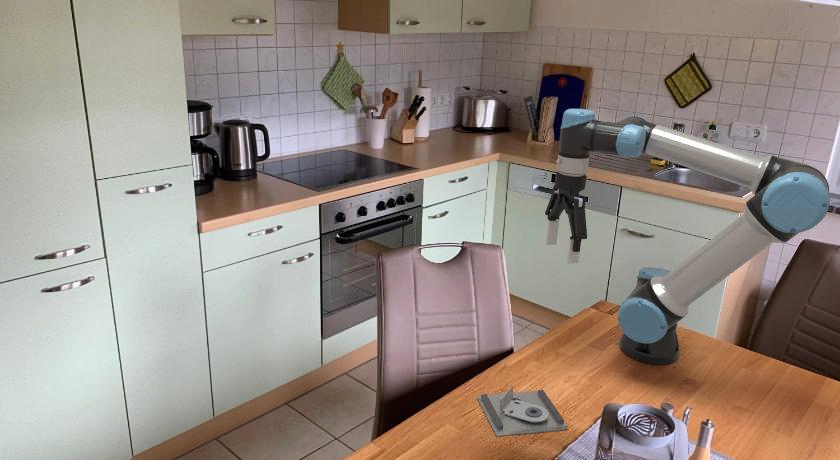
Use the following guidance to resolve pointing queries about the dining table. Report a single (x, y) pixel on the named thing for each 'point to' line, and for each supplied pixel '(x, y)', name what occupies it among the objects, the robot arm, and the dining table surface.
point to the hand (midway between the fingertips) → (561, 253)
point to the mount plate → (518, 426)
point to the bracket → (522, 409)
